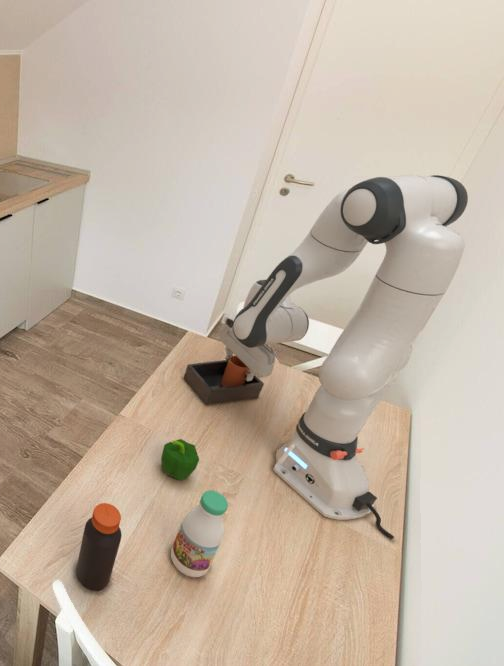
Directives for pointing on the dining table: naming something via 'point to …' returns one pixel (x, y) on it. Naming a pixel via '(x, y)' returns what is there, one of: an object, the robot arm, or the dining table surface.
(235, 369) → the cup
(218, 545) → the milk bottle
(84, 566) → the vinegar
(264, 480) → the dining table surface
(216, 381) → the dark open tray
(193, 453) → the bell pepper
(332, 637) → the dining table surface
